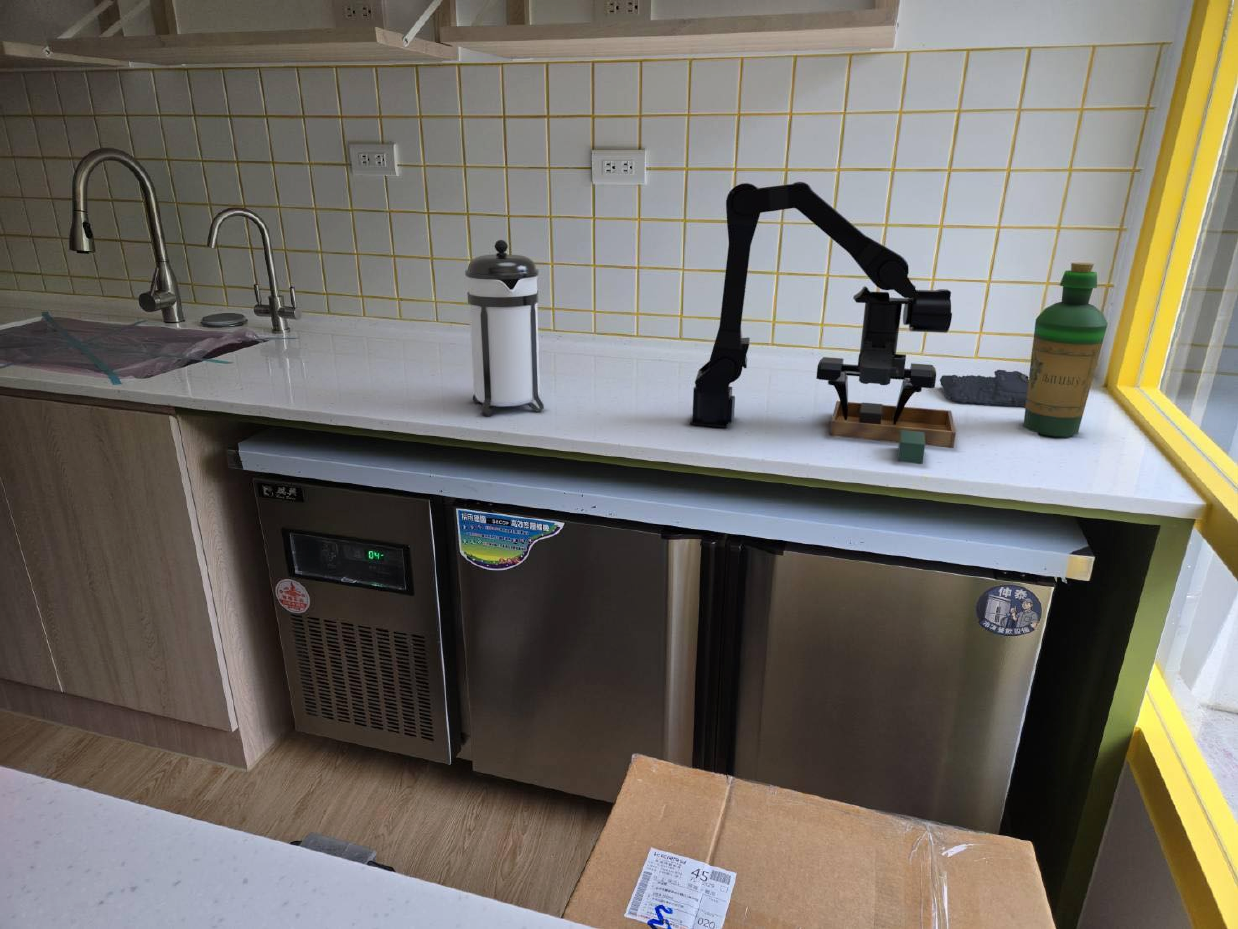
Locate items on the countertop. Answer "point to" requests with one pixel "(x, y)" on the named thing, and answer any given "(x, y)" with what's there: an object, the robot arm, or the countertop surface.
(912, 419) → the wooden tray
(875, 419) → the dark grey block
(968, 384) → the dark slate chunk
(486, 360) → the coffee press
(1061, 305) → the bottle
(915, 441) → the green block
